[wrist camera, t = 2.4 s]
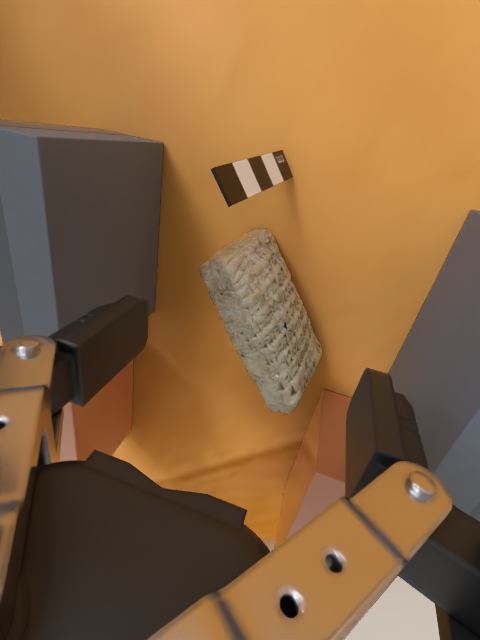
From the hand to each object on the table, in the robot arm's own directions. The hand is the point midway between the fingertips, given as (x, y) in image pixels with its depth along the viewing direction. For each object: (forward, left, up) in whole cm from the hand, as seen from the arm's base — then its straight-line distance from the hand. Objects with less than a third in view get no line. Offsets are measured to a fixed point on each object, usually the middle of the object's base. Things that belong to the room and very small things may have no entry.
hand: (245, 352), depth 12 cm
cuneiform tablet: (0, 0, -10) cm, 10 cm away
